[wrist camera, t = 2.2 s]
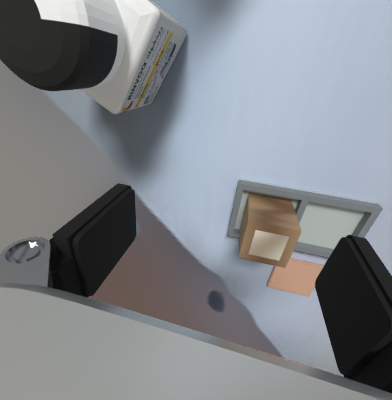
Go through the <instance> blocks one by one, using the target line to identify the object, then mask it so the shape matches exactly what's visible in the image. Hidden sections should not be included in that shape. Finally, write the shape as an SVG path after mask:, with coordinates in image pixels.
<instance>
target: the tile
mask: <svg viewBox="0 0 392 400" xmlns="http://www.w3.org/2000/svg"><path fill="white" fill-rule="evenodd" d="M323 267H324V265H320V264H315V263H311V262H306V261H301V260H297V259H292V258H290V259H289V261H288V263H287V266H286V268H283V267H278V266H274V268H273V271H272V273H271V276H270V278H269V281H268V283H267V285H268V287H271V288H275V289H279V290H283V291H287V292H292V293H296V294H300V295H304V296H308V297H309V296H310V294H311V292H312V291H313V289H314V287H315V281H316V278H317V277H318V275H319V273H320V272H321V270H322V268H323Z"/></svg>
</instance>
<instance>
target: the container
mask: <svg viewBox="0 0 392 400" xmlns="http://www.w3.org/2000/svg"><path fill="white" fill-rule="evenodd" d="M186 35H187V30H186V29H185V27H183V26H182V25H181V24H180V23H179V22H178V21H176V20H175V19H174V18H173V17H172V16H170V15H169V14H168V13H167V12H166V11H165V10H163V9H162V8H161V7H160V6H159V5H157V4H156V3H155V2H154V1H153V0H0V59H1V61H2V62H3V63H4V64H5V65H6V66H7V67H8V68H9V69H10V70H11V71H12V72H13V73H15V74H16V75H17V76H18V77H19V78H21V79H22V80H24V81H25V82H27V83H28V84H30V85H32V86H34V87H36V88H39V89H42V90H47V91H61V90H73V89H80V90H82V91H83V92H84V93H86V94H87V95H88V96H90V97H91V98H92V99H94V100H95V101H96V102H98V103H99V104H100V105H102V106H103V107H104V108H106V109H107V110H108V111H110V112H111V113H113V114H118V113H122V112H125V111H129V110H132V109H136V108H139V107H142V106H146V105H149V104H151V103H152V102H153V100H154V98H155V96H156V94H157V92H158V90H159V88H160V86H161V84H162V82H163V80H164V78H165V77H166V75H167V73H168V71H169V69H170V67H171V65H172V63H173V61H174V59H175V57H176V55H177V53H178V51H179V49H180V47H181V45H182V43H183V41H184V39H185V37H186Z"/></svg>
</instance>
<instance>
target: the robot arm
mask: <svg viewBox="0 0 392 400" xmlns="http://www.w3.org/2000/svg"><path fill="white" fill-rule="evenodd" d="M135 237H136V215H135V192H134V190H132V188H131V186H128V185H123V184H117V185H115V186H114V187H113V188H111V189H110V190H109V191H108V192H106V193H105V194H104V195H103V196H101V197H100V198H99V199H97V200H96V201H95V202H94V203H92V204H91V205H90V206H88V207H87V208H86V209H85V210H83V211H82V212H81V213H80V214H78V215H77V216H76V217H74V218H73V219H72V220H70V221H69V222H68V223H67V224H66V225H64V226H63V227H62V228H60V229H59V230H58V231H56V232H55V233H54V234H53V238H52V239H50V240H49V241H48V240H47V239H45V238H42V237H29V238H25V239H21V240H19V241H17V242H14V243H12V244H11V245H9V246H7V247H6V248H5V249H4V250H3V251H2V252H1V254H0V400H392V276H391V274H390V273H389V271H388V270H387V269H386V267H385V266H384V264H383V263H382V261H381V260H380V258H379V257H378V255H377V254H376V252H375V251H374V249H373V248H372V246H371V245H370V243H369V242H368V241H367V239H366V238H362V237H358V236H353V235H347V236H346V237H342V238H341V239H340V240H339V242H338V244H337V245H336V247H335V249H334V250H333V252H332V254H331V255H330V257H329V259H328V260H327V262H326V263H325V265H324V267H323V268H322V270H321V272H320V273H319V275H318V277H317V278H316V281H315V288H316V292H317V295H318V299H319V302H320V306H321V309H322V313H323V317H324V320H325V324H326V327H327V331H328V334H329V338H330V341H331V345H332V349H333V352H334V356H335V359H336V363H337V366H338V369H339V371H340V373H341V374H344V377H341V376H338V375H335V374H332V373H329V372H326V371H322V370H319V369H316V368H313V367H310V366H307V365H304V364H300V363H297V362H294V361H291V360H288V359H285V358H281V357H278V356H275V355H272V354H269V353H266V352H262V351H259V350H256V349H253V348H250V347H247V346H243V345H240V344H237V343H233V342H231V341H227V340H224V339H221V338H218V337H214V336H211V335H208V334H205V333H202V332H198V331H195V330H192V329H189V328H186V327H182V326H179V325H176V324H173V323H169V322H166V321H163V320H160V319H156V318H153V317H150V316H147V315H143V314H140V313H137V312H134V311H130V310H127V309H124V308H120V307H117V306H114V305H110V304H107V303H104V302H101V301H97V300H93V299H90V298H88V297H89V296H92V295H94V293H95V292H96V291H97V290H98V288H99V287H100V285H101V284H102V283H103V281H104V280H105V279H106V277H107V276H108V275H109V273H110V272H111V270H112V269H113V268H114V266H115V265H116V264H117V262H118V261H119V260H120V258H121V257H122V256H123V254H124V253H125V252H126V250H127V249H128V247H129V246H130V245H131V244H132V242H133V241H134V239H135Z"/></svg>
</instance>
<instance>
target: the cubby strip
mask: <svg viewBox="0 0 392 400" xmlns="http://www.w3.org/2000/svg"><path fill="white" fill-rule="evenodd" d="M249 193H254V194H260V195H265V196H271V197H276V198H282V199H287V200H292V203H293V206H294V209H295V213H296V216H297V219H298V222H299V225H300V228H301V231H302V232H301V234H300V236H299V239H298V241H297V243H296V245H295V248H294V250H295V251H300V252H305V253H309V254H314V255H319V256H323V257H328V258H329V257H330V255H331V254H332V252H333V250H334V249H335V247H336V245H337V244H338V242H339V240H340V239H341V238H342V237H346V236H347V235H353V236H358V237H362V238H364V237H365V235H366V234H367V232H368V231H369V229H370V228H371V226H372V225H373V223H374V222H375V220H376V218H377V217H378V215H379V214H380V212H381V211H382V209H383V208H382V207H381V206H380V205H379V204H378V203H376V202H371V201H365V200H359V199H353V198H348V197H342V196H336V195H331V194H325V193H319V192H313V191H308V190H302V189H296V188H291V187H285V186H279V185H273V184H268V183H262V182H256V181H251V180H245V179H239V182H238V187H237V191H236V196H235V200H234V205H233V210H232V214H231V219H230V224H229V228H228V234H227V236H230V237H234V238H239V239H240V226H241V222H242V218H243V214H244V210H245V206H246V202H247V198H248V194H249Z"/></svg>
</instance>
